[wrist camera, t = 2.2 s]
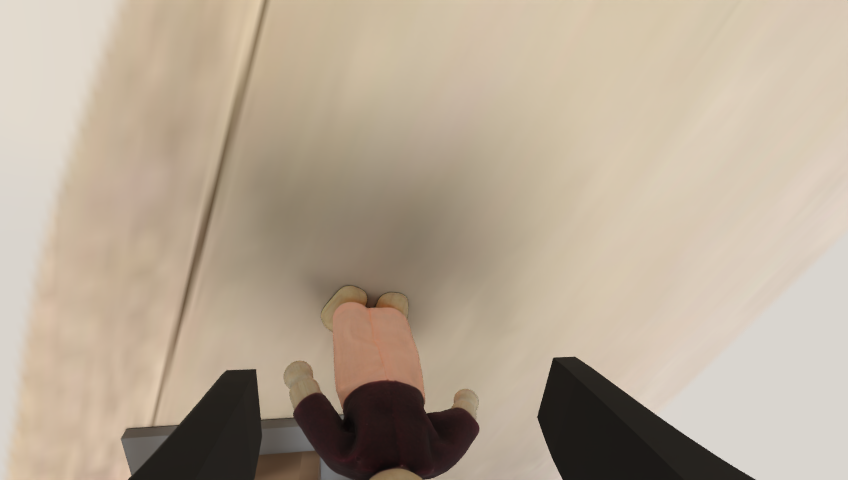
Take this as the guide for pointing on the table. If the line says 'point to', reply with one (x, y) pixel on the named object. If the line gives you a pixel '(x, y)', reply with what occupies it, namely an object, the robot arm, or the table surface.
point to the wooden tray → (278, 458)
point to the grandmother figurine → (378, 398)
